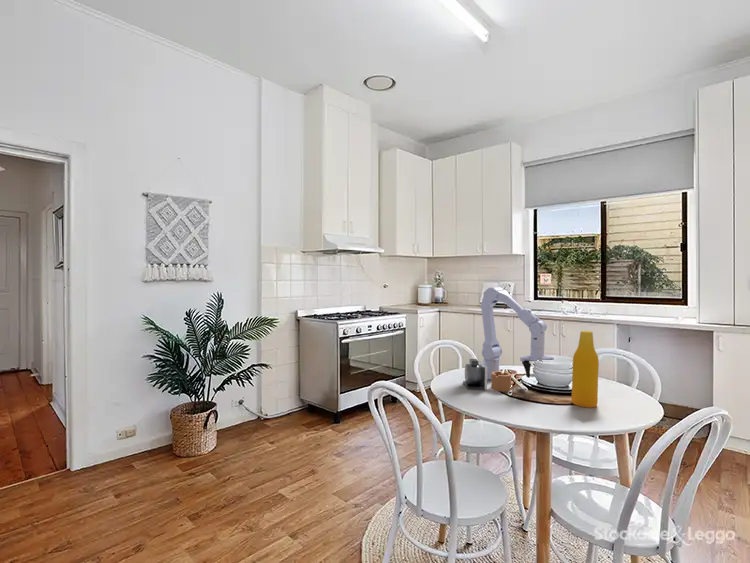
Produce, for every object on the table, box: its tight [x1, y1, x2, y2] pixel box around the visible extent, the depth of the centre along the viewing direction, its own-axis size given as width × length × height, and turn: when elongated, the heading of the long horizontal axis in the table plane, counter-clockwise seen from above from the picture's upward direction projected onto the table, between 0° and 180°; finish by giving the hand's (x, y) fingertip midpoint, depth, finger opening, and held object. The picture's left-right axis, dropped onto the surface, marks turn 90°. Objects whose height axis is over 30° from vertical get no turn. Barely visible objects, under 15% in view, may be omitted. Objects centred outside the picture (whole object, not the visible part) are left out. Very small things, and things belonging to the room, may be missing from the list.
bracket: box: [490, 370, 519, 392], centre depth 189 cm, size 18×8×7 cm, turn 144°
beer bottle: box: [571, 330, 600, 409], centre depth 165 cm, size 9×9×29 cm
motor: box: [462, 358, 488, 391], centre depth 188 cm, size 12×8×12 cm, turn 1°
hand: (536, 377), depth 188 cm, fingers open, 7 cm apart
